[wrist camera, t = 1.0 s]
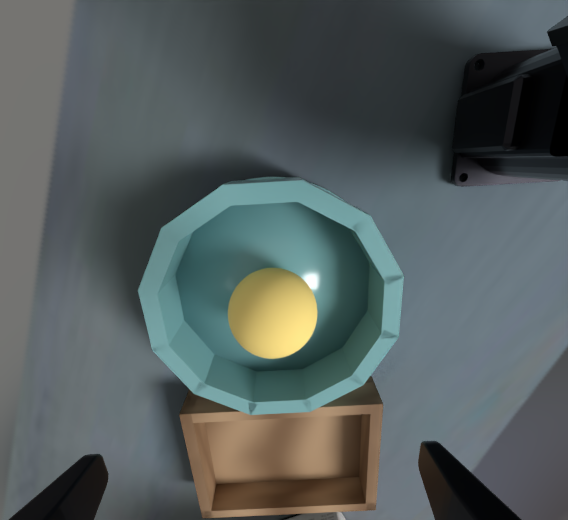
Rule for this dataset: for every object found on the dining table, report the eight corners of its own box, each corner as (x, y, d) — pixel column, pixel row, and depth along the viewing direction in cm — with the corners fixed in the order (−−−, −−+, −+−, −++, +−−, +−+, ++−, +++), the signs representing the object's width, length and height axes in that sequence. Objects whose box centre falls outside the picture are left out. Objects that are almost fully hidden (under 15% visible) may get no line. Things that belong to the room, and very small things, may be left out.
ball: (311, 253, 18) (322, 287, 13) (313, 324, 19) (324, 376, 15) (230, 258, 18) (212, 293, 13) (239, 328, 20) (226, 382, 15)
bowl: (389, 169, 17) (414, 171, 14) (377, 371, 22) (393, 408, 18) (143, 183, 17) (111, 189, 14) (184, 381, 22) (167, 420, 18)
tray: (371, 376, 22) (383, 404, 19) (366, 475, 25) (375, 510, 23) (190, 385, 22) (179, 414, 19) (210, 483, 25) (202, 518, 23)
